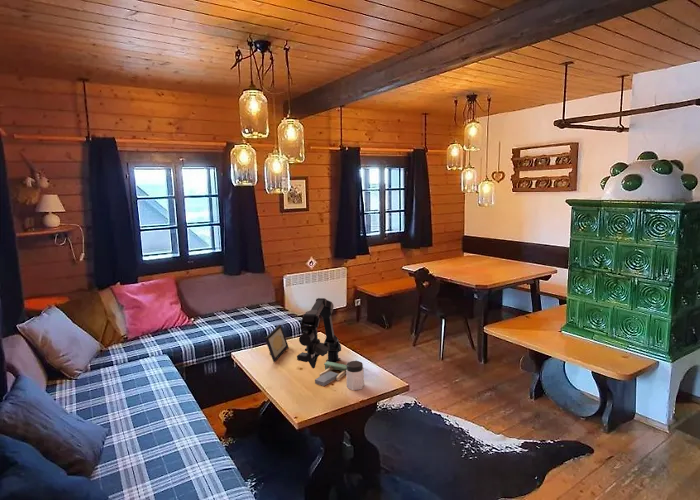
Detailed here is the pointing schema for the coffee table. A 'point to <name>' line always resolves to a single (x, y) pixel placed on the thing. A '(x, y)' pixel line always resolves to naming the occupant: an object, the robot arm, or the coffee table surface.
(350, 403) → the coffee table surface
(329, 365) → the dock
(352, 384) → the jar
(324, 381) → the slate tile
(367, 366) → the coffee table surface
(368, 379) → the coffee table surface
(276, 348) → the picture frame
